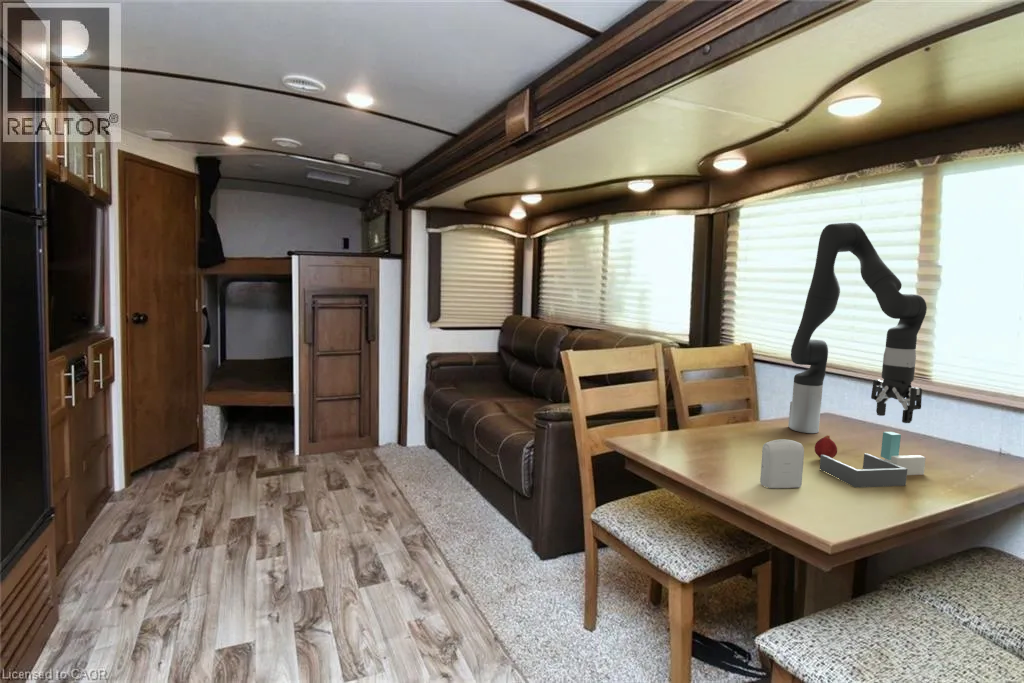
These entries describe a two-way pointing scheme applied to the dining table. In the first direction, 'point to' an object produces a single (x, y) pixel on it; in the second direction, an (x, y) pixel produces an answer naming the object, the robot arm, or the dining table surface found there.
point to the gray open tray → (866, 472)
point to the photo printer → (782, 464)
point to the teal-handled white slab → (909, 462)
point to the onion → (826, 447)
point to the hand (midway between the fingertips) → (893, 419)
